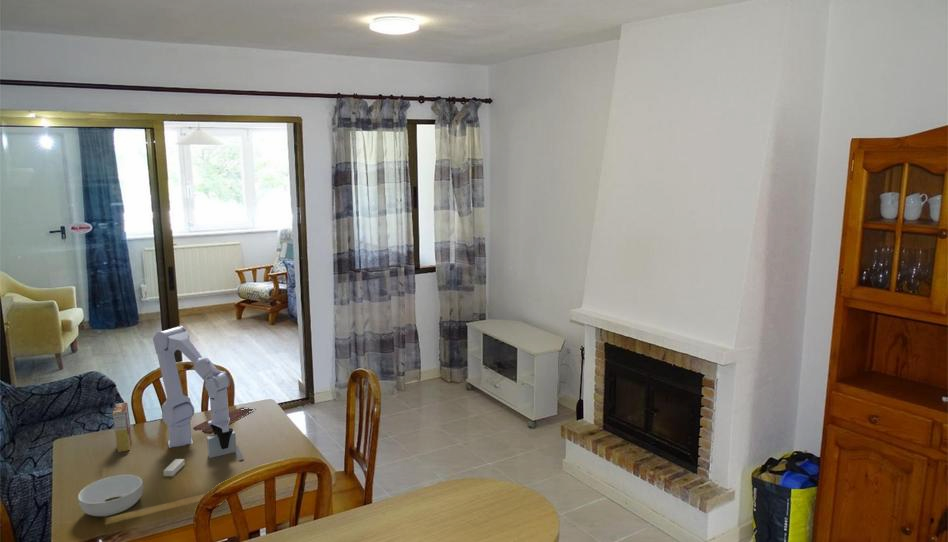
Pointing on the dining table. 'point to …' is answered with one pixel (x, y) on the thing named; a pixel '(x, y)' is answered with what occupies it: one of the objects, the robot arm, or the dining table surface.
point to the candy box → (122, 427)
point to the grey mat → (239, 454)
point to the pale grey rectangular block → (216, 449)
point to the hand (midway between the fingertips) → (222, 444)
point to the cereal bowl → (110, 495)
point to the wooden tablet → (233, 417)
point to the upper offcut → (174, 467)
